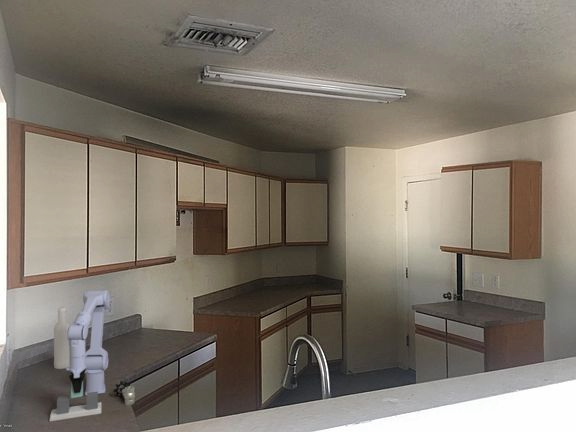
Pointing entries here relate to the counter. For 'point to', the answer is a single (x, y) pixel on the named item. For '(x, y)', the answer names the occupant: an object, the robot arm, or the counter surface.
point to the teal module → (76, 393)
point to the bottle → (61, 341)
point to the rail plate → (76, 408)
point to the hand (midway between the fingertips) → (77, 390)
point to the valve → (125, 392)
